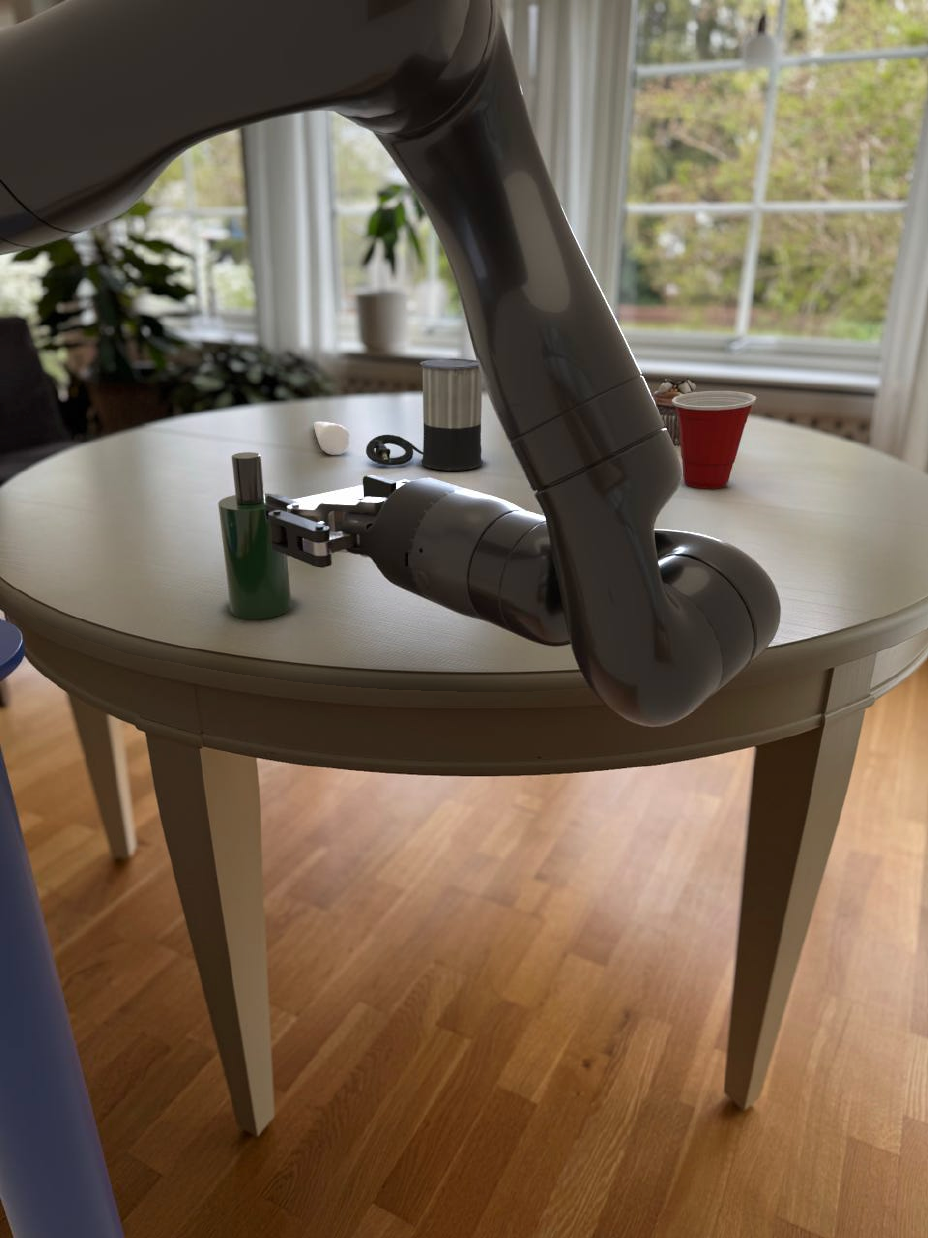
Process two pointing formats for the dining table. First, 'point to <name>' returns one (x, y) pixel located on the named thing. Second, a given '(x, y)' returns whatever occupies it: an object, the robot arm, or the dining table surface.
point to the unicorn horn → (332, 437)
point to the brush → (347, 493)
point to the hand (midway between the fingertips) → (320, 497)
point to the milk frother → (443, 419)
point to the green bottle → (252, 546)
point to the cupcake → (671, 404)
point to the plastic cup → (711, 434)
